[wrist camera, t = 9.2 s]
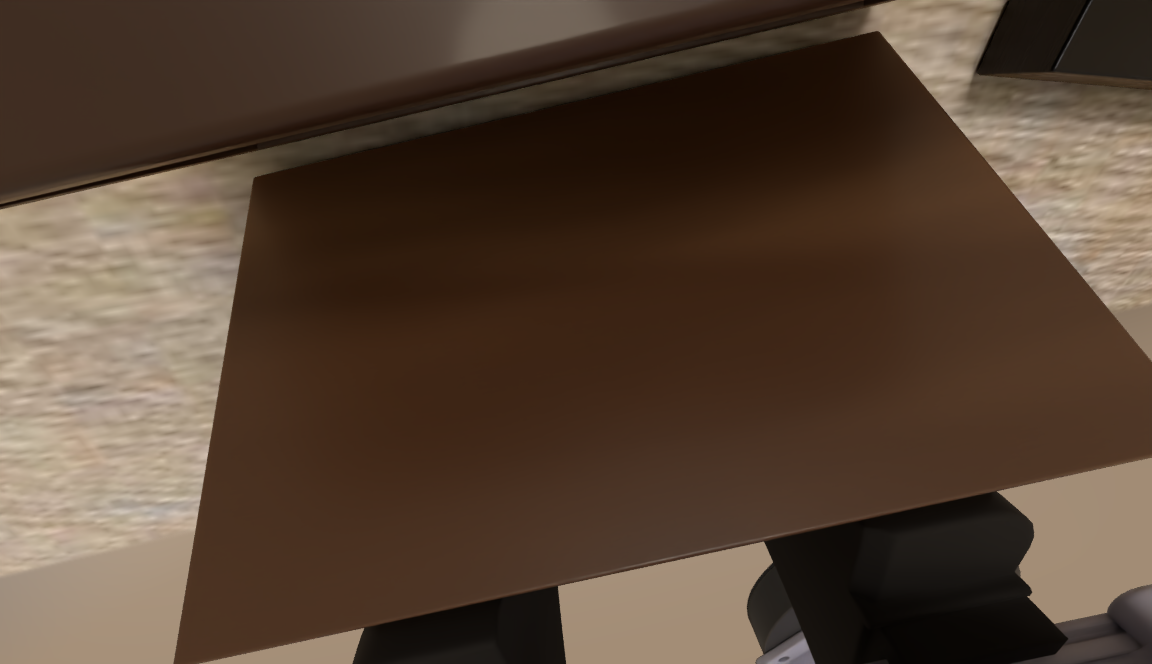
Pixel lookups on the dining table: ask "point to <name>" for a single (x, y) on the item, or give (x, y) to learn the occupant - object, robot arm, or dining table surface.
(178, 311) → the dining table surface
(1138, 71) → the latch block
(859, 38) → the door
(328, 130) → the compartment
